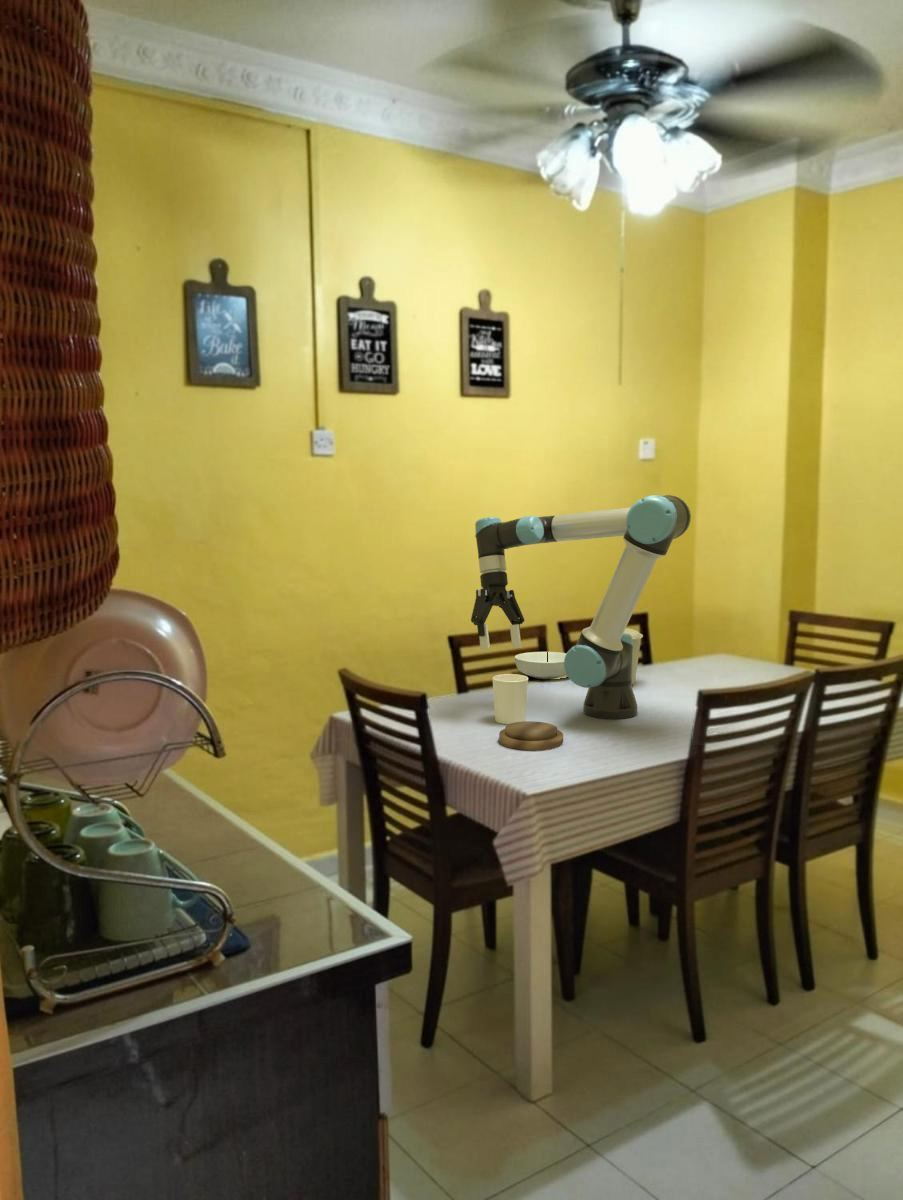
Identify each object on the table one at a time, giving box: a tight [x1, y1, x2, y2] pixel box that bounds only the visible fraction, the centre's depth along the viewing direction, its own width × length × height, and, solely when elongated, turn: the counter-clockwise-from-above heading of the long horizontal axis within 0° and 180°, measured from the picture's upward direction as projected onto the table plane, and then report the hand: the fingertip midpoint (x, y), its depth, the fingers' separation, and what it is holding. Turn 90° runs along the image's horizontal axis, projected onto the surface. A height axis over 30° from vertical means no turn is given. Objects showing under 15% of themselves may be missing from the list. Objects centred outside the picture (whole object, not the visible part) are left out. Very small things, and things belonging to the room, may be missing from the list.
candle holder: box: [491, 673, 529, 725], centre depth 252 cm, size 10×10×12 cm
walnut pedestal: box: [498, 720, 564, 752], centre depth 232 cm, size 16×16×4 cm
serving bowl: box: [514, 651, 567, 680], centre depth 310 cm, size 21×21×7 cm
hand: (501, 648), depth 256 cm, fingers open, 13 cm apart
